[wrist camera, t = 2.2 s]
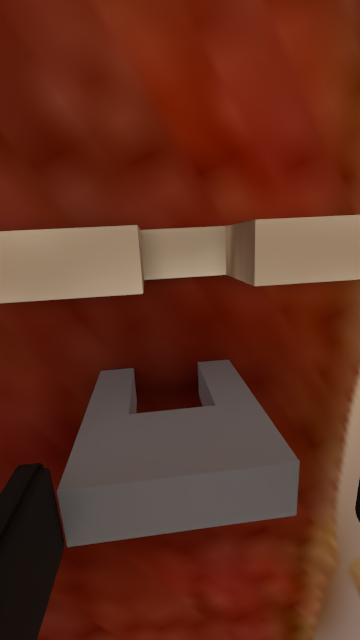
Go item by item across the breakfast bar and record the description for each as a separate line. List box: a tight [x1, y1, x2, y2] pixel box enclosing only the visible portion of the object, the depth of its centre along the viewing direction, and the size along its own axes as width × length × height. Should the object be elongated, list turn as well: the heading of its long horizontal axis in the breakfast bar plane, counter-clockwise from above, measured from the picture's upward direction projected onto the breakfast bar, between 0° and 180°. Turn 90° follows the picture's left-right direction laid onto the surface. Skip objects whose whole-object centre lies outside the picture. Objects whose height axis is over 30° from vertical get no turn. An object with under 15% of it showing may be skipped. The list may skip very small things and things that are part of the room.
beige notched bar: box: [0, 215, 360, 303], centre depth 12 cm, size 2×18×6 cm, turn 93°
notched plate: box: [57, 359, 300, 547], centre depth 13 cm, size 2×7×8 cm, turn 93°
